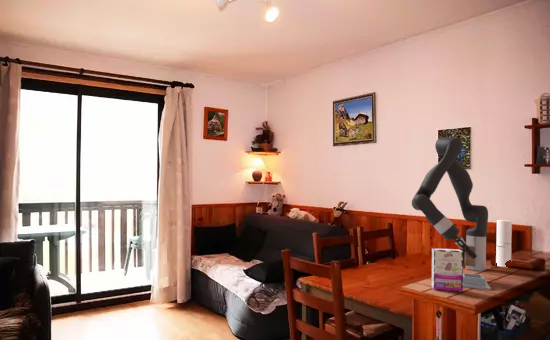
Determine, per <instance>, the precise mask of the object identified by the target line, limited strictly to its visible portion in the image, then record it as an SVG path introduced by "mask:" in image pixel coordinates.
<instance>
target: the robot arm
mask: <svg viewBox="0 0 550 340" xmlns="http://www.w3.org/2000/svg"><path fill="white" fill-rule="evenodd" d="M434 145H435V151H436V153H437V155H438V157H439V158H440V159H439V160H440V161H439V162H438V163H436V164H435V165H434V166H433V167H432V168H431V169H429V170H428V172H427V173H426V175H425V176H424V178H423V180H422V182H421V184H420V187H419V188H418V190H417V191H416V193H415V195H414V196H413V198H412V200H411V206H412V208H413V209H414V210H416V211H420V212H422V214H423V215H424V216H425V219H426V220H427V221H428V222H429V223H430V224H431V226H433V227H434V229H435V230H436V231H437V232H438V233H439V234H440V235H441V236H442V237H443V238H444V239H445V240H446V241H448V242H449V241H452V240H454V241H453V243H454V244H455V245H457V246H458V247H459V248H460V250H462V251H463V252H464V253H465V252H466V253H468V254H469V255H470V256H471V257H472V258H473V259H475V266H465V268H466V269H468V270H471V271H472V270H473V271H486V268H487V267H486V265H487V264H486V262H487V261H486V260H487V258H486V257H487V255H486V254H487V249H486V248H487V232H488V224H489V222H488V221H489V210H488V208H487V206H486V205H481V204H480V205H479V204H472V203H471V201H470V196H471V193H472V191H473V186H474V183H473V180H472V178H471V176H470V175H471V174H470V173H469V172H468V170H466V168H465V167H464V166H462V164H461V163H460V162H458V160H457V158H458V157H459V156H460V154H461V152H462V151H463V142H462V140H461V139H460V138H457V137H447V136H446V137H443V136H442V137H438V139H436V142H435V144H434ZM446 173H447V175H448V177H449V180H450V183H451V185H452V187H453V190H454V192H455V194H456V197H457V199H458V203H459V207H460V209H461V213H462V216H463V218H464V220H465V221H466V222H469V223H475V224H476V225H475V226H474V227H472V228H468V229H467V230H466V237H465V238H466V239H465V240H466V241H465V240H464V238H463V237H462V236H461V235H460V236H458V235H459V233H460V231H461V229H459V227H457V226H456V225H455V223H453V222H452V221H451V220H450V219H449V218H448V217H447V216H446V215H444V214H443V213H442V211H440V209H438V208H437V206H436V205H435V204H434V202H433V201H432V200H431V198H432V195H433V194H434V193H435V192H436V190H437V188H438V186H439V185H440V182H441V181H442V179H443V177H444V175H445V174H446ZM468 246H475V253H474V252H473V251H472V250H471V248H469V247H468ZM465 247H467V249H465Z"/></svg>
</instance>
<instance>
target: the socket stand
mask: <svg viewBox="0 0 550 340" xmlns="http://www.w3.org/2000/svg"><path fill="white" fill-rule="evenodd" d="M463 288H466V289H468V288H469V289H475V290H486V291H491V286H490V285H489V283H488V282H487V281H486V278H485V277H484V275H483V274H478V273H477V274H476V273H468V272H463Z"/></svg>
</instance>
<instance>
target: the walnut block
mask: <svg viewBox="0 0 550 340" xmlns="http://www.w3.org/2000/svg"><path fill="white" fill-rule="evenodd" d="M468 247H469V248H471V250H472V251H473V252H474V253H475V246H468ZM465 249H467V247H465ZM464 265H465V267H466V266H475V259H473V258H472V257H471V256H470V255H469V254H468V253H466V252H465V251H464Z"/></svg>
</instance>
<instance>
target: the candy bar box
mask: <svg viewBox="0 0 550 340" xmlns="http://www.w3.org/2000/svg"><path fill="white" fill-rule="evenodd" d="M463 273H464V250H462V249H456V248H455V249H454V248H440V247H439V248H435V247H432V248H431V288H432V289H433V290H434V291H439V292H442V291H443V292H444V291H445V292H456V293H457V292H458V293H463V291H464V287H463Z"/></svg>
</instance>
